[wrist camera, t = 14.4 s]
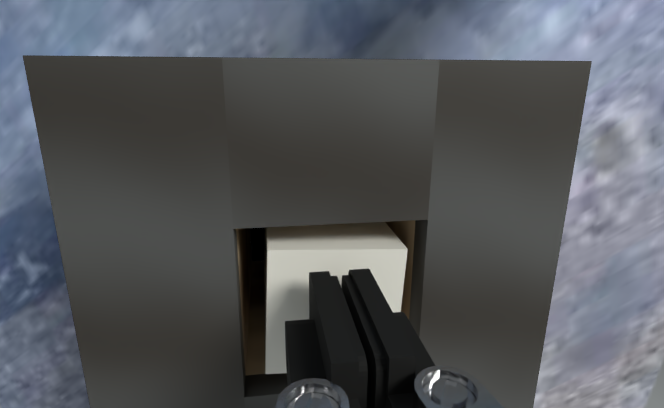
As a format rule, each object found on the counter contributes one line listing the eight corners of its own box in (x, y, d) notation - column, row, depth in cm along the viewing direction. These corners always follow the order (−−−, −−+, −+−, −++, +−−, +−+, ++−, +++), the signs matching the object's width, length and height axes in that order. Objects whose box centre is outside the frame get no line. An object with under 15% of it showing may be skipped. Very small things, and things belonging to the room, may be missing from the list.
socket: (142, 64, 19) (22, 55, 10) (443, 67, 21) (591, 61, 12) (174, 339, 23) (112, 524, 14) (424, 318, 25) (522, 467, 16)
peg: (265, 171, 21) (267, 250, 12) (344, 173, 22) (407, 249, 12) (264, 247, 22) (265, 374, 13) (340, 246, 23) (394, 367, 14)
